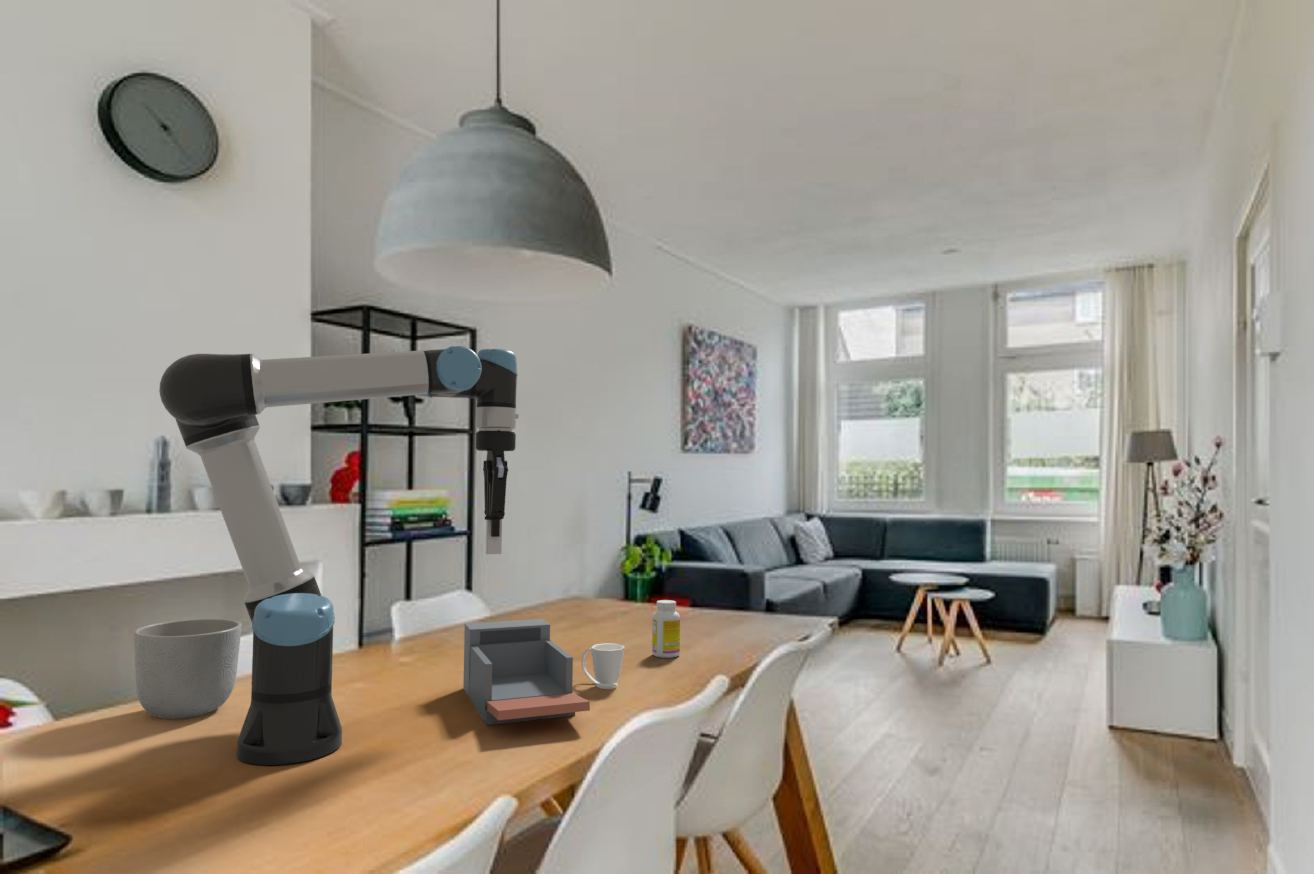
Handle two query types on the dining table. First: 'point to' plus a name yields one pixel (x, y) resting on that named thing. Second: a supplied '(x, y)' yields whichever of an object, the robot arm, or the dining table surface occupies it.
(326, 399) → the robot arm
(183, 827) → the dining table surface
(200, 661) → the planter
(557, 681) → the grey drop-front box
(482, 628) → the grey box shell
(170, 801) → the dining table surface
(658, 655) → the supplement bottle
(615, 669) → the cup
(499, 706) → the panel
